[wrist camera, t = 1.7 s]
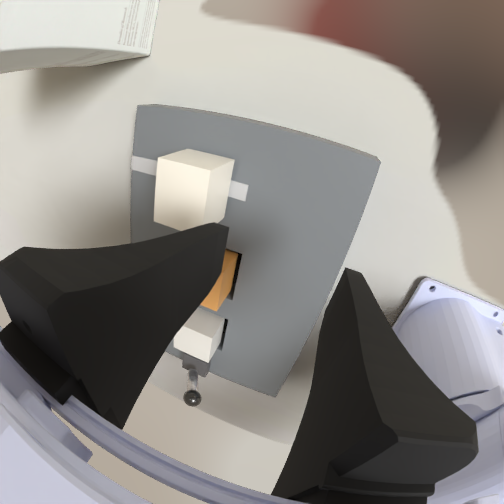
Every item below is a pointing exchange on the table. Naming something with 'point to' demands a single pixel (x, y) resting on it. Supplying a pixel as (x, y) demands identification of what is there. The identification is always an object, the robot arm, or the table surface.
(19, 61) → the supplement box
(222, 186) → the block
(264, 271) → the control panel
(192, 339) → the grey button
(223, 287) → the orange button
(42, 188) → the table surface
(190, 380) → the toggle lever
